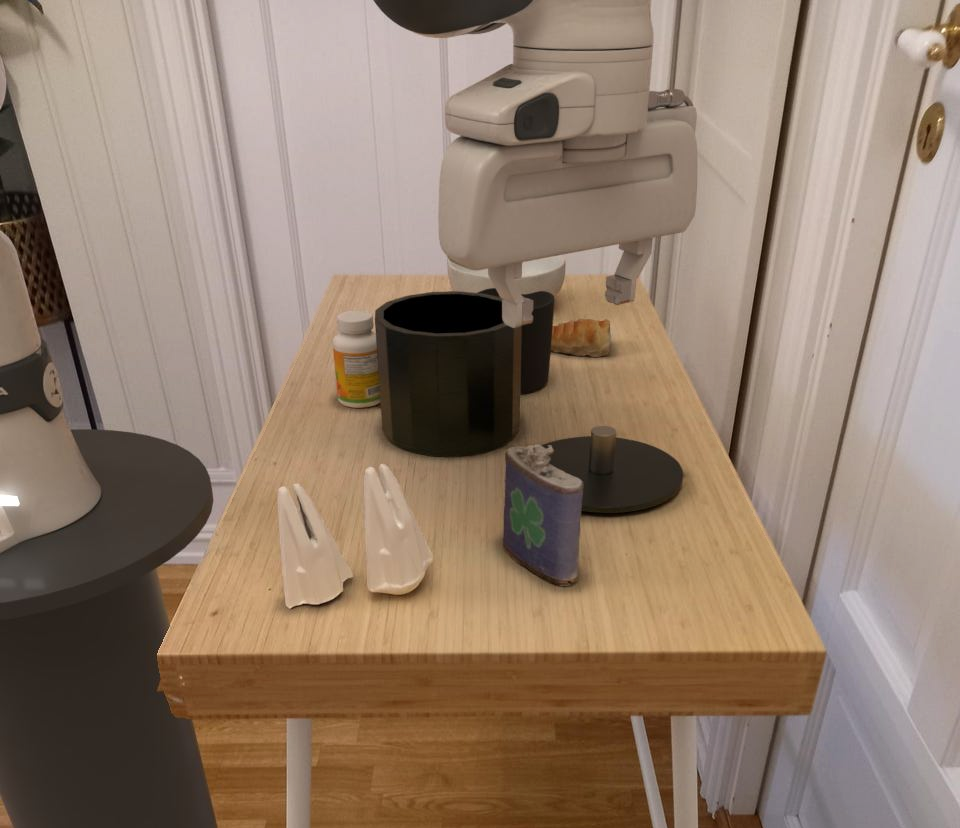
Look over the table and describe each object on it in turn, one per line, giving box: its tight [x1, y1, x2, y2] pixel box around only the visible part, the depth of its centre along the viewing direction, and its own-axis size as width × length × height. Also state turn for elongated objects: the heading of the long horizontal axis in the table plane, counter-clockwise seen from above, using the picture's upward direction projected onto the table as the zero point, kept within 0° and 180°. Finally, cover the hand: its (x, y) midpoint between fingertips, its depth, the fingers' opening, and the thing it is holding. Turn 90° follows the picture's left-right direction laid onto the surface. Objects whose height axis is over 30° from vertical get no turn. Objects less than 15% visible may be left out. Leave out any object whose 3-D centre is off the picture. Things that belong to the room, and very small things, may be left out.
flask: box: [502, 443, 584, 587], centre depth 79 cm, size 9×3×11 cm, turn 33°
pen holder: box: [477, 288, 555, 395], centre depth 113 cm, size 9×9×10 cm
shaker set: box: [276, 463, 434, 609], centre depth 75 cm, size 12×4×11 cm, turn 95°
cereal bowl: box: [447, 254, 566, 298], centre depth 138 cm, size 17×17×7 cm
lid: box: [541, 425, 684, 514], centre depth 93 cm, size 16×16×5 cm
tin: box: [374, 290, 522, 458], centre depth 102 cm, size 15×15×12 cm
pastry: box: [551, 318, 612, 358], centre depth 125 cm, size 9×7×4 cm
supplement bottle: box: [332, 310, 381, 409], centre depth 109 cm, size 5×5×10 cm
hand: (569, 313), depth 71 cm, fingers open, 8 cm apart
